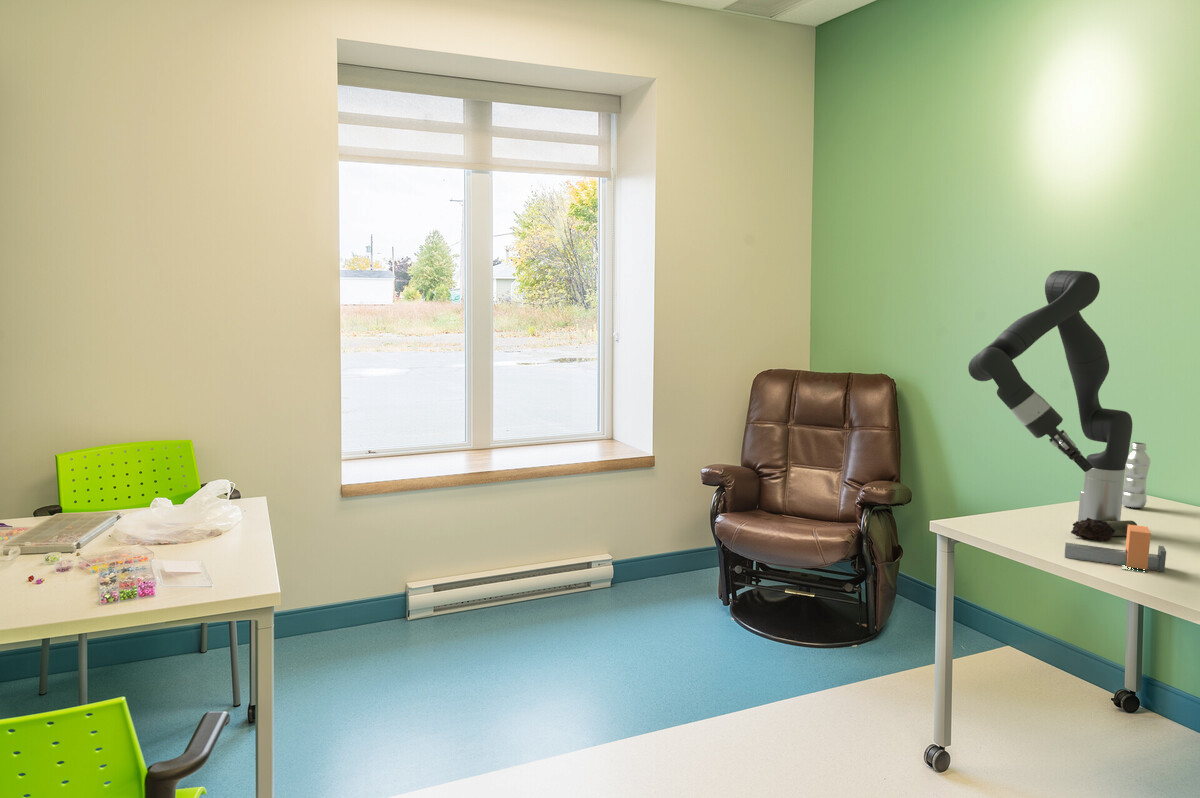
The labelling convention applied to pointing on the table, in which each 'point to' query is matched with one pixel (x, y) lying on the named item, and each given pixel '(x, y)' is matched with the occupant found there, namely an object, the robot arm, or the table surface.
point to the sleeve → (1137, 546)
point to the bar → (1113, 556)
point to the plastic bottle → (1136, 476)
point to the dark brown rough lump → (1100, 529)
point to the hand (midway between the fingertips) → (1088, 469)
